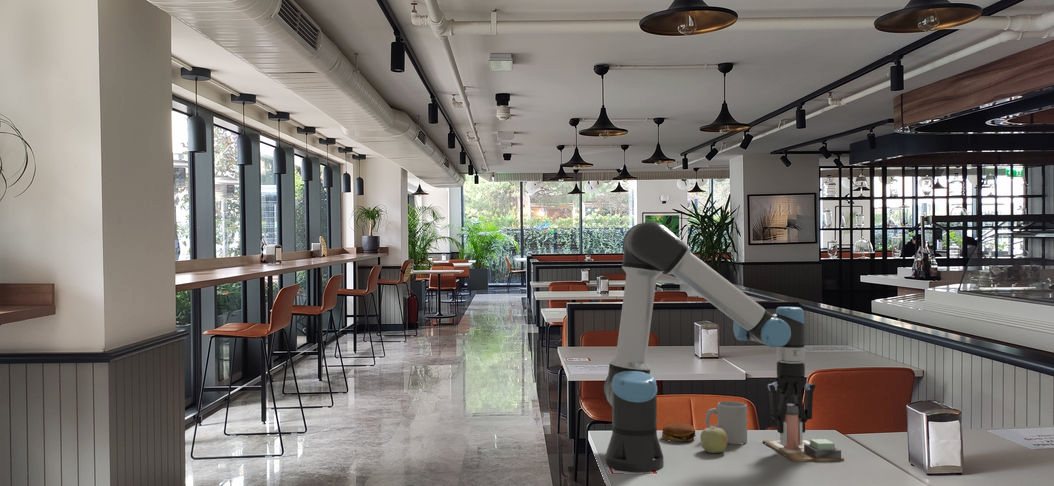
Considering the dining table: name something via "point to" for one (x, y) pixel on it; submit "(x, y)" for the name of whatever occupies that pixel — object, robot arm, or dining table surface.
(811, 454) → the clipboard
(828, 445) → the button
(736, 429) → the mug
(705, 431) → the fruit
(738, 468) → the dining table surface
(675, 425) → the burger
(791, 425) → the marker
